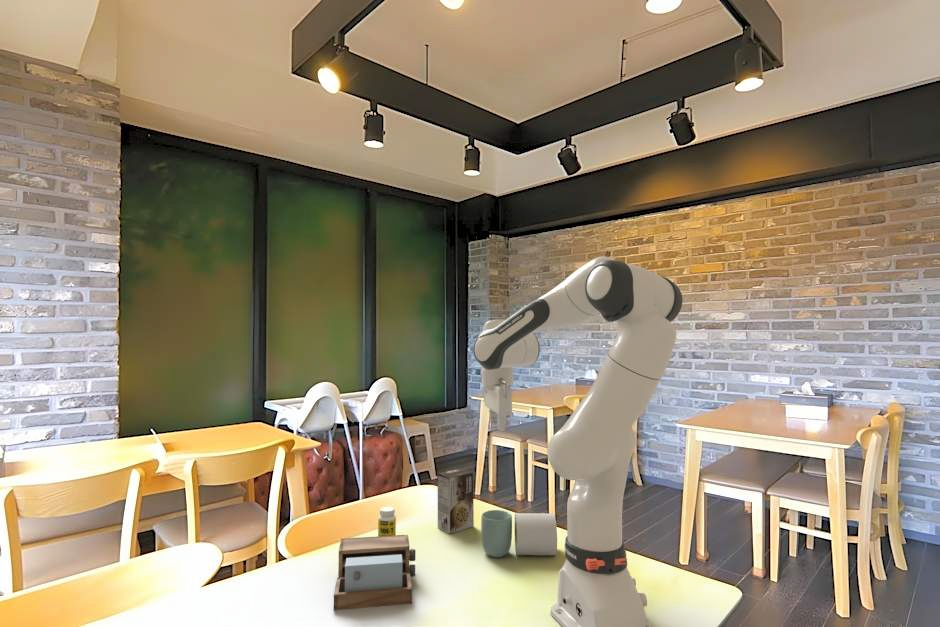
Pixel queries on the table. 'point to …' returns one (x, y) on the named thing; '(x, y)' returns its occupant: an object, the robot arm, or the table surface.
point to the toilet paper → (535, 534)
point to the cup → (496, 532)
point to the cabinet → (367, 549)
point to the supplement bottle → (387, 522)
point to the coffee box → (455, 500)
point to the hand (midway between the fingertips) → (497, 427)
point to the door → (373, 573)
